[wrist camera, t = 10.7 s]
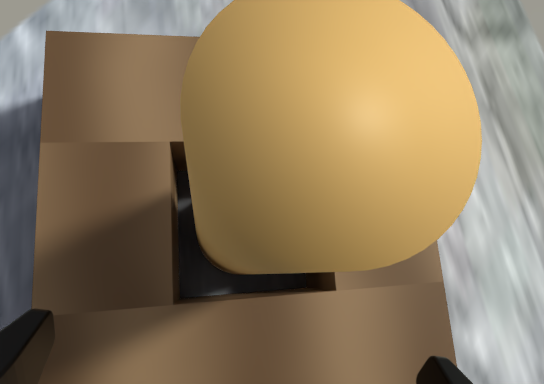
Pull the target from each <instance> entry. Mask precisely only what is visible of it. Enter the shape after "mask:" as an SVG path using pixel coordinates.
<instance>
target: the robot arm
mask: <svg viewBox="0 0 544 384" xmlns="http://www.w3.org/2000/svg"><path fill="white" fill-rule="evenodd" d="M54 340H55V327H54V318H53V313H52V311H51V310H45V309H37V308H34V309H30V310H28V311H27V312H25V313H24V314H23V315H21V316H20V317H19V318H17V319H16V320H15V321H13V322H12V323H10V324H9V325H8V326H6V327H5V328H4V329H2V330H1V331H0V384H38V382H39V379H40V377H41V374H42V372H43V369H44V367H45V364H46V362H47V359H48V357H49V354H50V352H51V349H52V346H53V344H54ZM416 384H473V383H472V382H471V381H470V380H469V379H468V378H467V377H466V376H465V375H464V374H463V373H462V372H461V371H460V370H459V369H458V368H457V367H456V366H455V365H454V364H453V363H452V362H451V361H450V360H449V359H448V358H446V357H442V356H430V357H429V358H428V359H427V360H426V362H425V363H424V365H423V366H422V368H421V369H420V371H419V372H418V374H417V377H416Z"/></svg>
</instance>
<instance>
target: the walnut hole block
mask: <svg viewBox="0 0 544 384" xmlns="http://www.w3.org/2000/svg"><path fill="white" fill-rule="evenodd" d="M199 38H200V37H187V36H162V35H137V34H112V33H88V32H63V31H46V42H45V61H44V80H43V99H42V118H41V137H40V156H39V175H38V194H37V213H36V232H35V251H34V270H33V289H32V308H31V309H34V308H37V309H45V310H51V311H52V313H53V318H54V327H55V340H54V344H53V346H52V349H51V352H50V354H49V357H48V359H47V362H46V364H45V367H44V369H43V372H42V374H41V377H40V379H39V382H38V384H416V377H417V374H418V372H419V371H420V369H421V368H422V366H423V365H424V363H425V362H426V360H427V359H428V358H429V357H430V356H442V357H446V358H448V359H449V360H450V361H451V362H452V363H453V364H454V365H455V366H456V367H457V364H456V358H455V351H454V345H453V339H452V332H451V326H450V320H449V314H448V307H447V301H446V295H445V288H444V282H443V276H442V269H441V263H440V257H439V251H438V244H437V240H436V241H435V242H433V243H432V244H431V245H429V246H428V247H427V248H426V249H424V250H423V251H421V252H419V253H417V254H415V255H413V256H412V257H410V258H408V259H406V260H403V261H400V262H398V263H395V264H392V265H390V266H386V267H381V268H377V269H372V270H365V271H349V272H316V273H305V274H306V285H307V288H296V289H284V290H272V291H260V292H248V293H236V294H224V295H212V296H200V297H188V298H180V282H179V239H178V195H177V171H188V169H187V162H186V154H185V147H184V140H183V132H182V125H181V105H180V98H181V90H182V83H183V77H184V74H185V70H186V67H187V63H188V60H189V58H190V55H191V53H192V51H193V49H194V47H195V44H196V42H197V41H198V39H199Z"/></svg>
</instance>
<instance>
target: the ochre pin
mask: <svg viewBox="0 0 544 384" xmlns="http://www.w3.org/2000/svg"><path fill="white" fill-rule="evenodd" d="M180 105H181V125H182V132H183V140H184V147H185V154H186V162H187V169H188V176H189V184H190V191H191V198H192V206H193V213H194V220H195V227H196V235H197V241H198V244H199V247H200V249H201V251H202V253H203V255H204V256H205V257H206V259H207V260H208V261H209V262H210V263H211V264H212V265H214V266H215V267H216V268H218V269H220V270H222V271H224V272H227V273H231V274H238V275H246V274H281V273H316V272H349V271H365V270H372V269H377V268H381V267H386V266H390V265H392V264H395V263H398V262H400V261H403V260H406V259H408V258H410V257H412V256H413V255H415V254H417V253H419V252H421V251H423V250H424V249H426V248H427V247H428V246H429V245H431V244H432V243H433V242H435V241H436V240H437V239H439V238H440V237H441V236H442V235H443V234H444V233H445V232H446V231H447V229H448V228H449V227H450V226H451V225H452V224H453V223H454V221H455V220H456V219H457V217H458V216H459V214H460V213H461V212H462V210H463V208H464V206H465V204H466V203H467V201H468V199H469V197H470V195H471V192H472V190H473V187H474V184H475V181H476V178H477V174H478V169H479V164H480V159H481V145H482V136H481V122H480V116H479V111H478V105H477V102H476V99H475V95H474V92H473V89H472V86H471V84H470V82H469V79H468V77H467V75H466V72H465V70H464V69H463V67H462V65H461V63H460V62H459V60H458V58H457V56H456V55H455V53H454V52H453V51H452V49H451V48H450V46H449V45H448V44H447V42H446V41H445V40H444V39H443V37H442V36H441V35H440V34H439V33H438V32H437V31H436V30H435V29H434V27H433V26H432V25H430V24H429V23H428V22H427V21H426V20H425V19H424V18H423V17H422V16H420V15H419V14H418V13H417V12H415V11H414V10H413V9H411V8H410V7H408V6H407V5H406V4H404V3H403V2H401V1H399V0H234V1H233V2H231V3H230V4H229V5H228V6H227V7H225V8H224V9H223V10H222V11H221V12H219V13H218V15H217V16H216V17H215V18H214V19H213V20H212V21H211V22H210V24H209V25H208V26H207V27H206V29H205V30H204V32H203V33H202V35H201V36H200V38H199V39H198V41H197V42H196V44H195V47H194V49H193V51H192V53H191V55H190V58H189V60H188V63H187V67H186V70H185V74H184V77H183V83H182V90H181V98H180Z"/></svg>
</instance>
